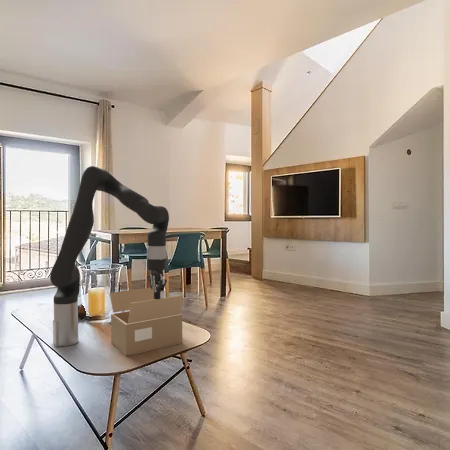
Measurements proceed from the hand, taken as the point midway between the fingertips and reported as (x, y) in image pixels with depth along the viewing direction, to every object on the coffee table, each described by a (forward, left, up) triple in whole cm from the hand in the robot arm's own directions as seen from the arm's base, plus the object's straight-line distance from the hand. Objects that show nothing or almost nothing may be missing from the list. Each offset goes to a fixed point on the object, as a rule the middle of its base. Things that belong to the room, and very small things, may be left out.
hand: (157, 301), depth 139 cm
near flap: (0, +1, -3) cm, 3 cm away
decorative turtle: (-12, +64, -20) cm, 68 cm away
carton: (0, +11, -20) cm, 22 cm away
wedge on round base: (0, +44, -20) cm, 49 cm away
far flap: (0, +22, -3) cm, 22 cm away
